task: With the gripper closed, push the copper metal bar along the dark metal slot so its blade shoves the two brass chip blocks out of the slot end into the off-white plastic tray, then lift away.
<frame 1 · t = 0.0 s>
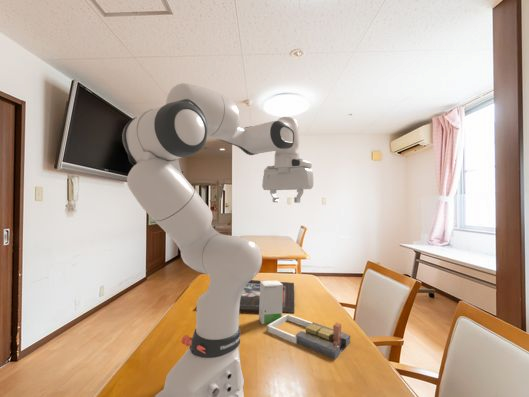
hand: (286, 202, 91), 48 cm above the table, tool pointing down, fingers open, 8 cm apart
tray: (290, 332, 93), on the table
chip rear: (325, 343, 84), point 1 cm above the table, touching slot bed
religious icon: (250, 297, 129), on the table
chip front: (313, 338, 87), point 1 cm above the table, touching slot bed
skincare box: (270, 321, 102), on the table
slot bed: (322, 345, 85), on the table
copper metal bar: (337, 336, 82), point 5 cm above the table, slide at 0.0 cm
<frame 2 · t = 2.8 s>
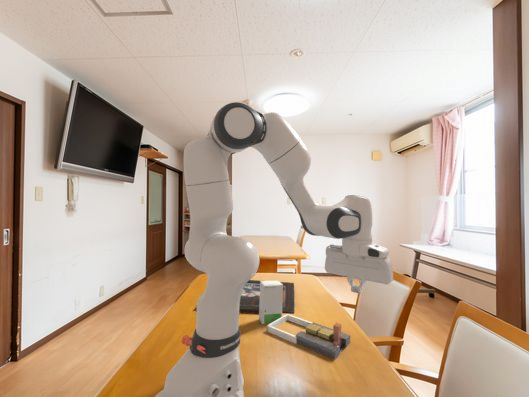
hand: (356, 292, 78), 20 cm above the table, tool pointing down, fingers closed
nothing on the table moved.
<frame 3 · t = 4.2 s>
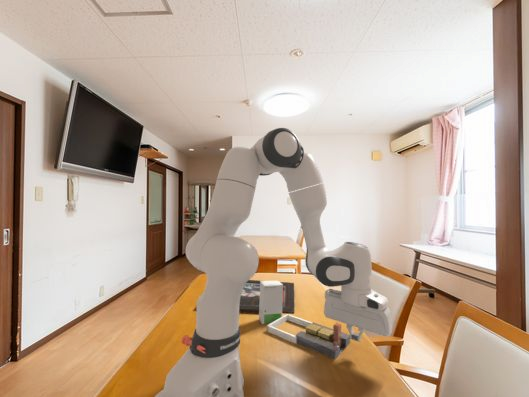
hand: (355, 339, 78), 6 cm above the table, tool pointing down, fingers closed
nothing on the table moved.
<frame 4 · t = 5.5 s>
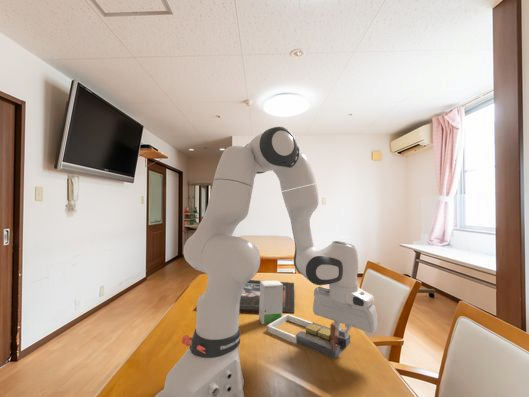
hand: (342, 336, 80), 6 cm above the table, tool pointing down, fingers closed
copper metal bar: (334, 335, 82), point 5 cm above the table, slide at 1.0 cm, touching gripper
everything else where it was.
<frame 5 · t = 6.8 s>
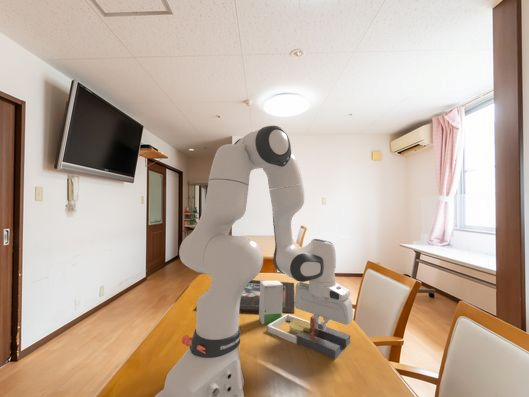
hand: (321, 328, 85), 6 cm above the table, tool pointing down, fingers closed
chip rear: (306, 336, 89), point 1 cm above the table, touching chip front, copper metal bar
chip front: (297, 333, 91), resting on tray, touching chip rear
copper metal bar: (314, 327, 87), point 5 cm above the table, slide at 8.4 cm, touching chip rear, gripper
everything else where it was.
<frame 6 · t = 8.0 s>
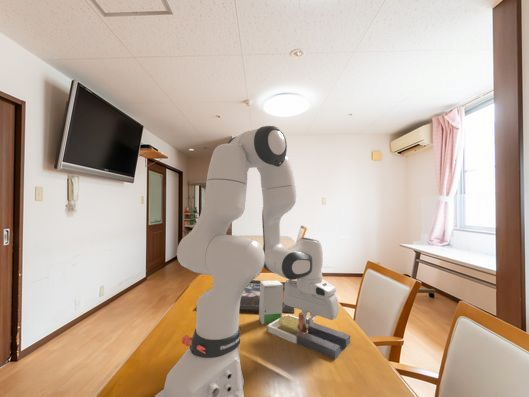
hand: (308, 324, 88), 6 cm above the table, tool pointing down, fingers closed
chip rear: (295, 333, 92), point 1 cm above the table, touching chip front, copper metal bar
chip front: (286, 329, 94), resting on tray, touching chip rear
copper metal bar: (302, 323, 90), point 5 cm above the table, slide at 13.1 cm, touching chip rear, gripper
everything else where it was.
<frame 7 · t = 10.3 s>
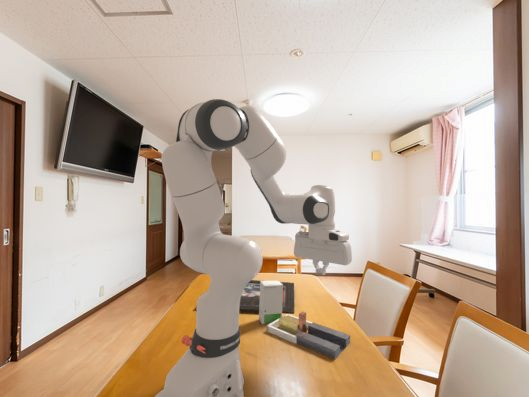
hand: (320, 273, 86), 24 cm above the table, tool pointing down, fingers closed
chip rear: (295, 333, 92), resting on tray
chip front: (286, 329, 94), resting on tray
copper metal bar: (302, 323, 90), point 5 cm above the table, slide at 13.0 cm
everything else where it was.
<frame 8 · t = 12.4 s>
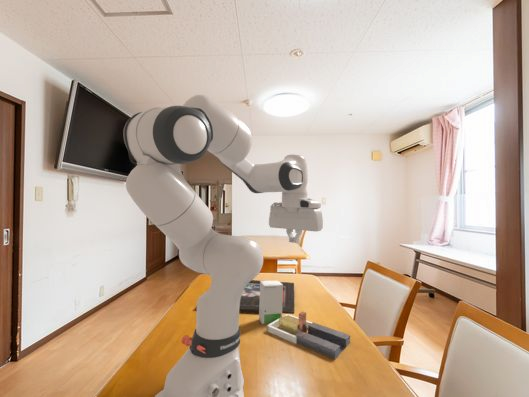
hand: (293, 242, 87), 34 cm above the table, tool pointing down, fingers closed
nothing on the table moved.
at the end: chip front inside the target area on the tray (2.4 cm from its centre), point 0.5 cm above the tray's base; chip rear inside the target area on the tray (1.6 cm from its centre), point 0.5 cm above the tray's base; copper metal bar slide at 13.0 cm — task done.
